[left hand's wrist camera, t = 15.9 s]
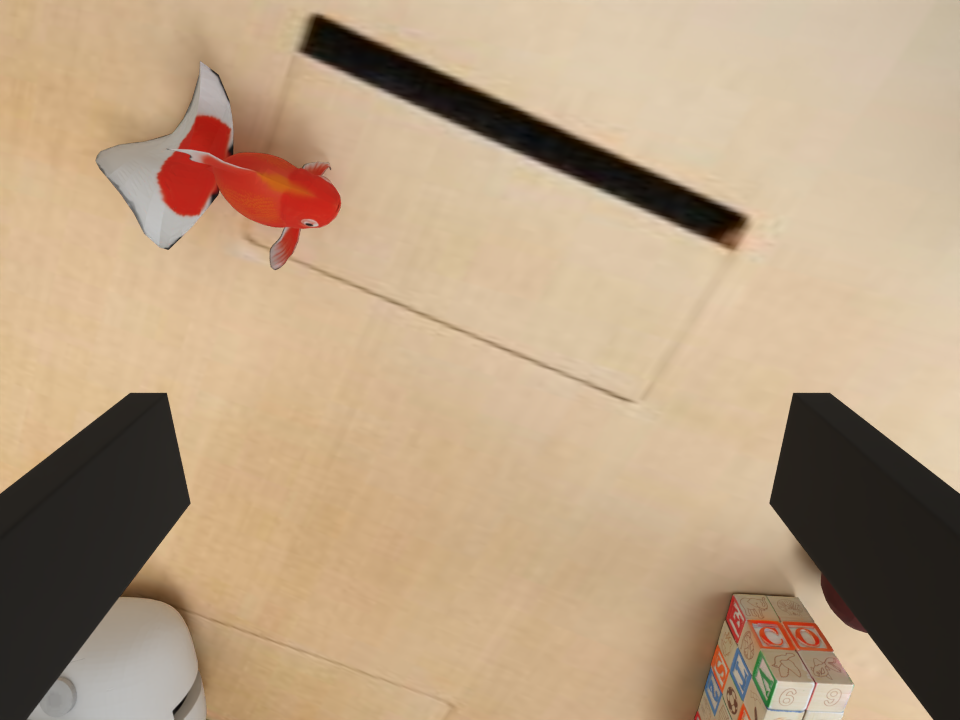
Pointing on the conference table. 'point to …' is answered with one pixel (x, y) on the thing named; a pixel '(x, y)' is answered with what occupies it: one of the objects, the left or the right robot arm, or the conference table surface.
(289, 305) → the conference table surface
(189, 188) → the fish
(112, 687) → the projector
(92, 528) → the left robot arm
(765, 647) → the stack of blocks
